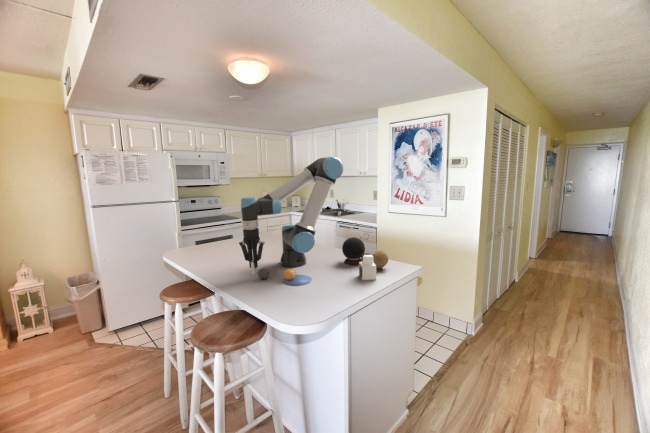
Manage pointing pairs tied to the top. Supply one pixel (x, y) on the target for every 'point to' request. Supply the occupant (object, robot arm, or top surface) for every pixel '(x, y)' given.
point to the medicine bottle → (367, 267)
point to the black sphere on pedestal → (353, 251)
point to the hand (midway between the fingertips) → (254, 273)
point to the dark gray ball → (263, 273)
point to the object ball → (289, 274)
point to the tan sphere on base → (380, 259)
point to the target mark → (298, 280)
